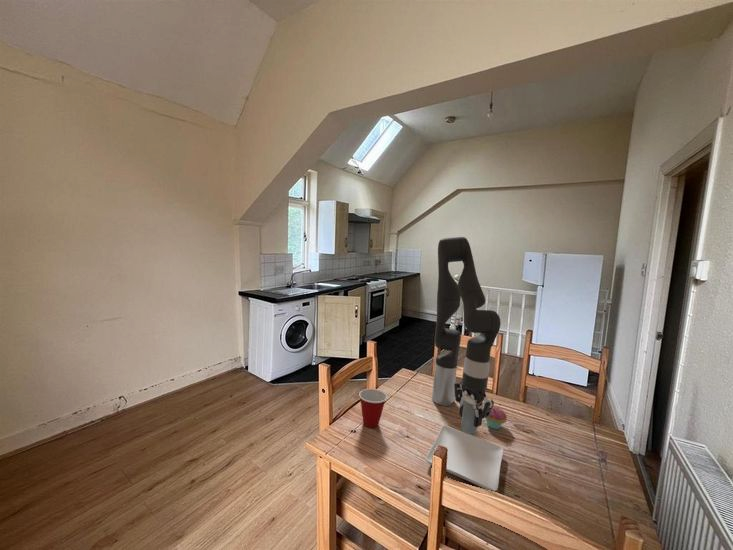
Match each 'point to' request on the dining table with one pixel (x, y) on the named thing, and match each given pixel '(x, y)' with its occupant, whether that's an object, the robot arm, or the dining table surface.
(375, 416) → the plastic cup
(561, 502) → the dining table surface
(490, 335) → the robot arm
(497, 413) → the cupcake
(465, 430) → the shaker
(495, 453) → the salad plate
